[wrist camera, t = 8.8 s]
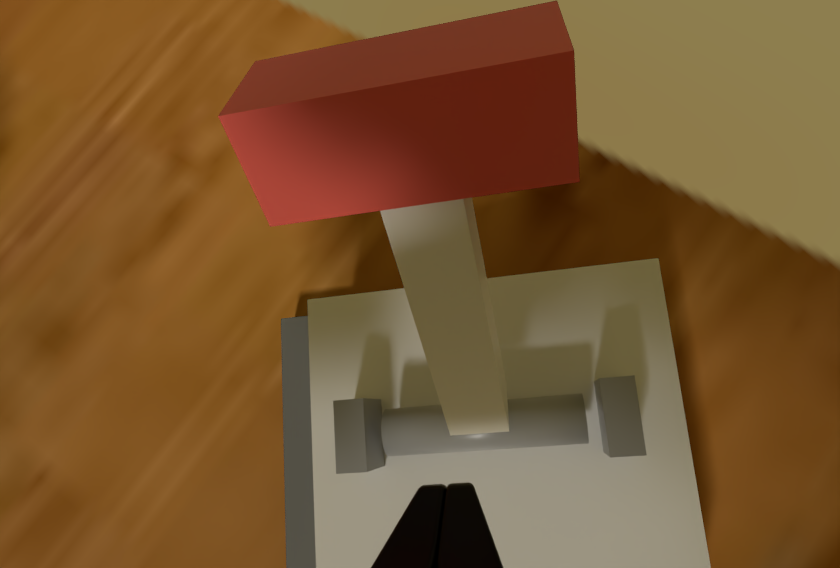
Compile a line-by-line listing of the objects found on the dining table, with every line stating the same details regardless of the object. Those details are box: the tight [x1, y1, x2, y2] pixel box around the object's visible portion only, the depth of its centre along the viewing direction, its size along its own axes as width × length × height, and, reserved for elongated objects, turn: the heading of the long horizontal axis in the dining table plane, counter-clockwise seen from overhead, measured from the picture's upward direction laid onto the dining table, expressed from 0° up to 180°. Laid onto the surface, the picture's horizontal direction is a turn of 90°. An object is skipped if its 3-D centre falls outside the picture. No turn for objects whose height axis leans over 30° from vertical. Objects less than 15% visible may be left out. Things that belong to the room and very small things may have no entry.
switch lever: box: [218, 1, 589, 456], centre depth 12 cm, size 2×5×10 cm
